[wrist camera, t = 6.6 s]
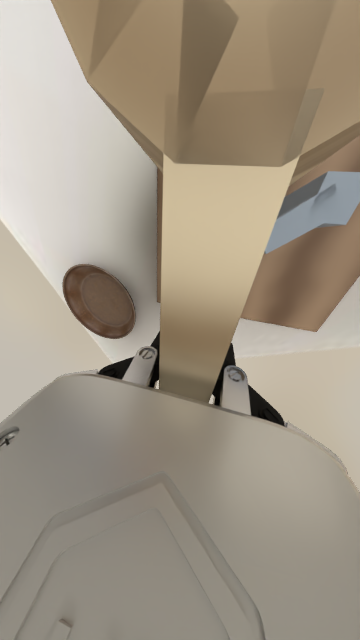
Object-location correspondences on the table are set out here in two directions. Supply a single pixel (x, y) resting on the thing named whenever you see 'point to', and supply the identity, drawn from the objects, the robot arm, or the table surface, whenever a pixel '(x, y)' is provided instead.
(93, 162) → the table surface
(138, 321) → the table surface
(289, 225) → the bracket
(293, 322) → the board
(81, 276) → the saucer
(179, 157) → the link
